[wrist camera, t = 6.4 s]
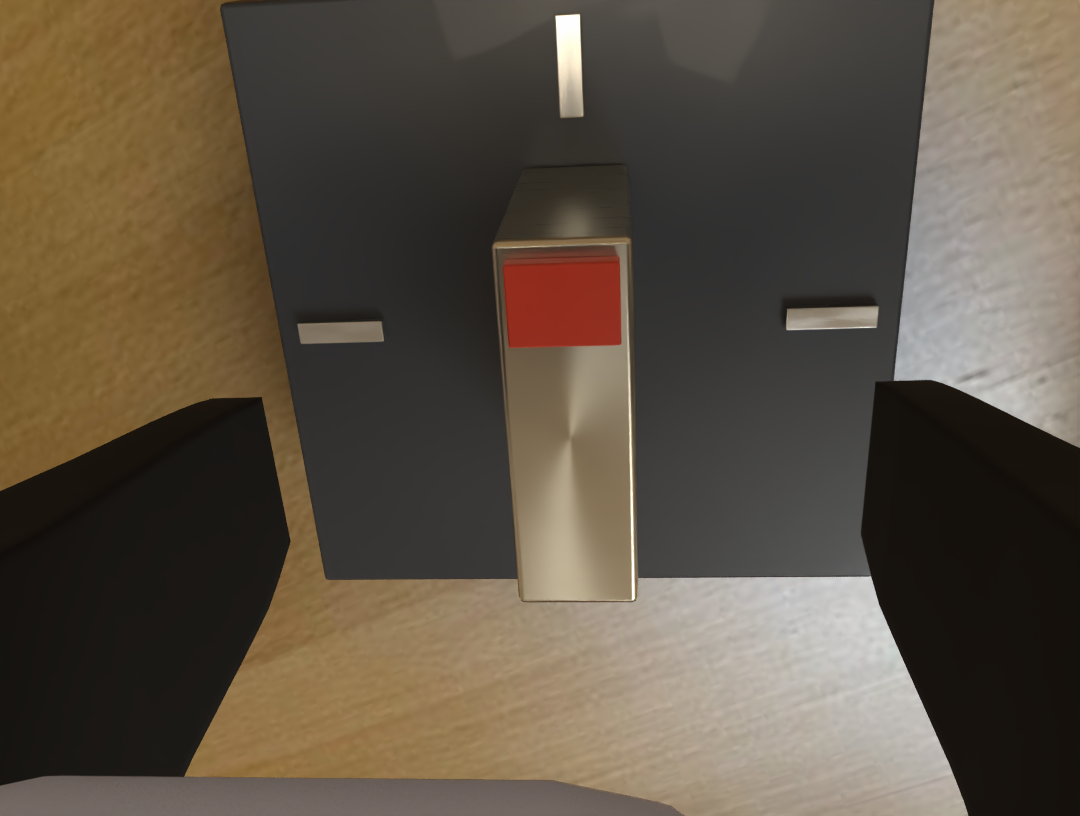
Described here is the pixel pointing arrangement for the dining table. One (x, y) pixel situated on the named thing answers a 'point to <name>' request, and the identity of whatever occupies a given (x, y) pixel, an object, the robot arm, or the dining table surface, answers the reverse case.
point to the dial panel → (658, 257)
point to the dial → (570, 382)
